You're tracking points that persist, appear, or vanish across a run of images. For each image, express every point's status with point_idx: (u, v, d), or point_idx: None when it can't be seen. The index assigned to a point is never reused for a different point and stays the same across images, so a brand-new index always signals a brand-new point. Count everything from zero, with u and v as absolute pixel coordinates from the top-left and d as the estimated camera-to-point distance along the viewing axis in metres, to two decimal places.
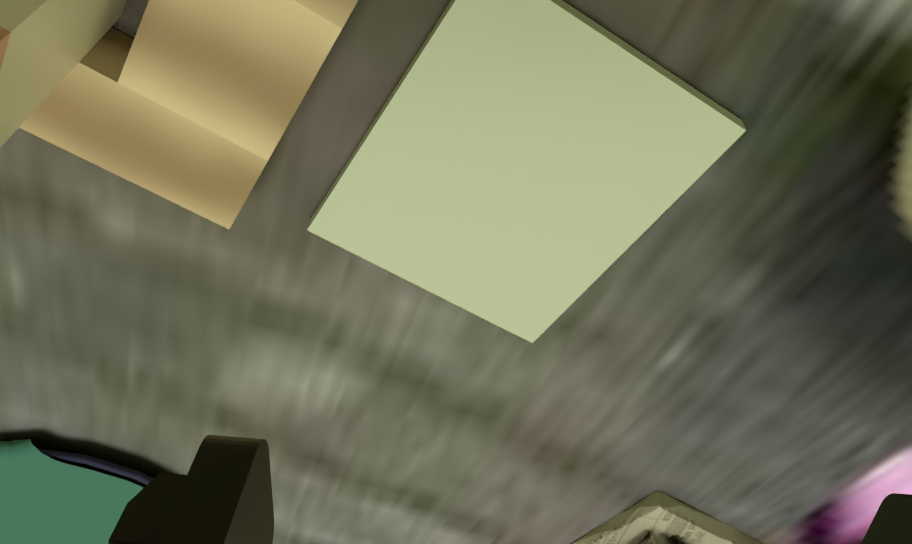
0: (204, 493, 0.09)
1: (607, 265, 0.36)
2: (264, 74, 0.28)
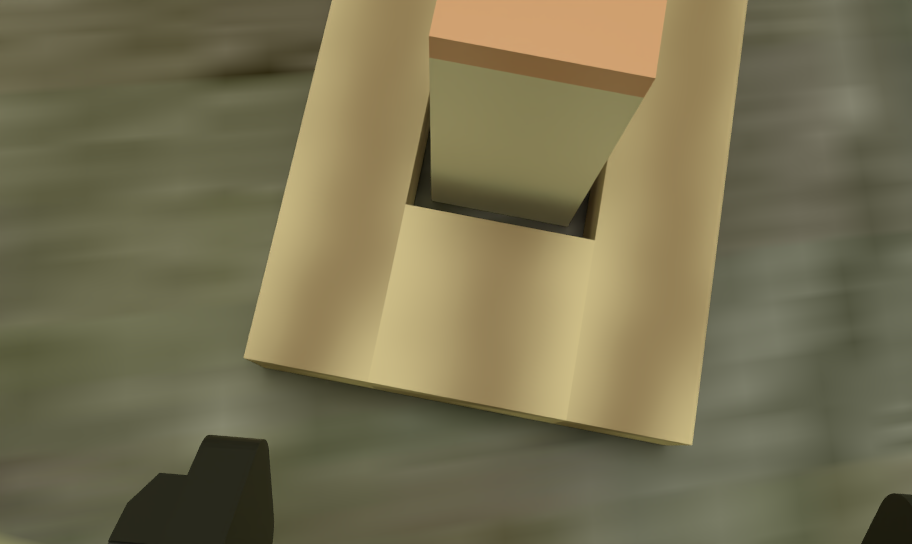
0: (204, 493, 0.09)
1: None
2: None
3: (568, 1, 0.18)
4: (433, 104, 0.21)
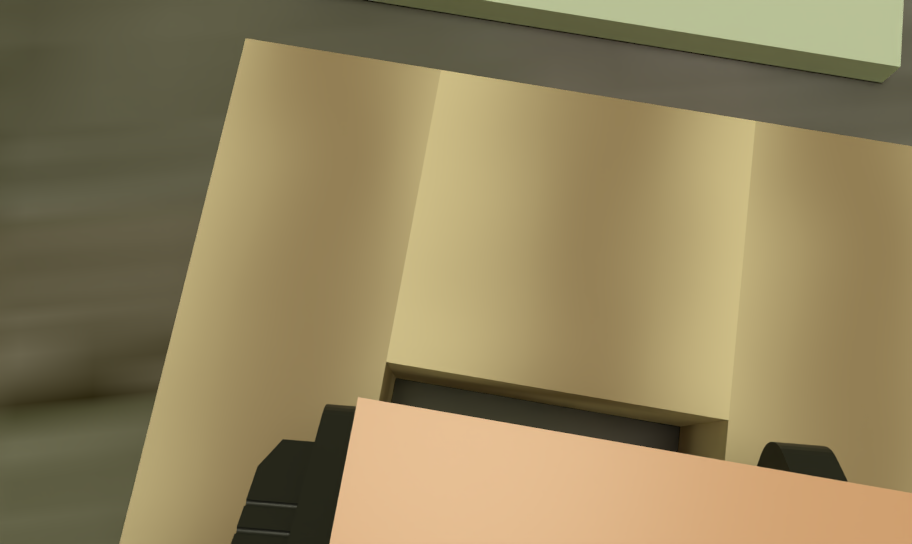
0: (333, 455, 0.10)
1: None
2: (582, 166, 0.15)
3: None
4: None
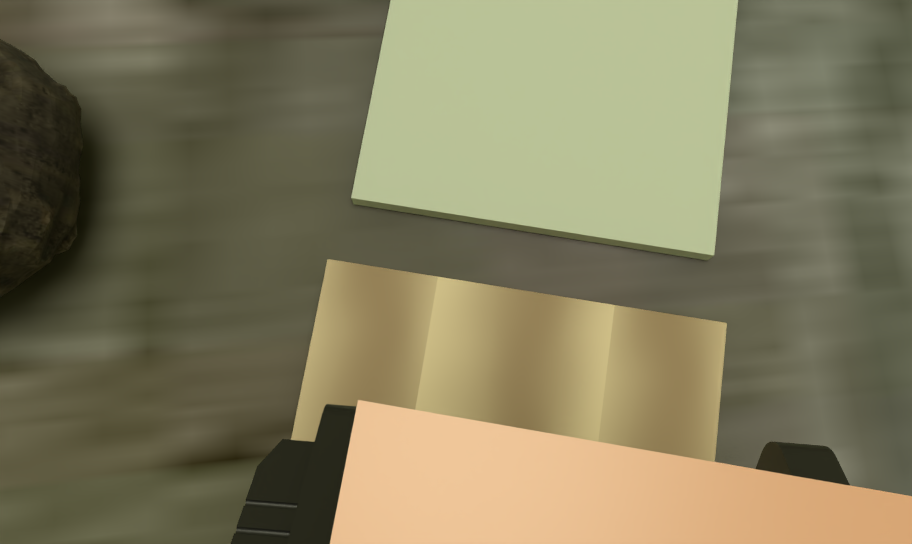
0: (333, 455, 0.10)
1: None
2: (516, 333, 0.28)
3: None
4: None
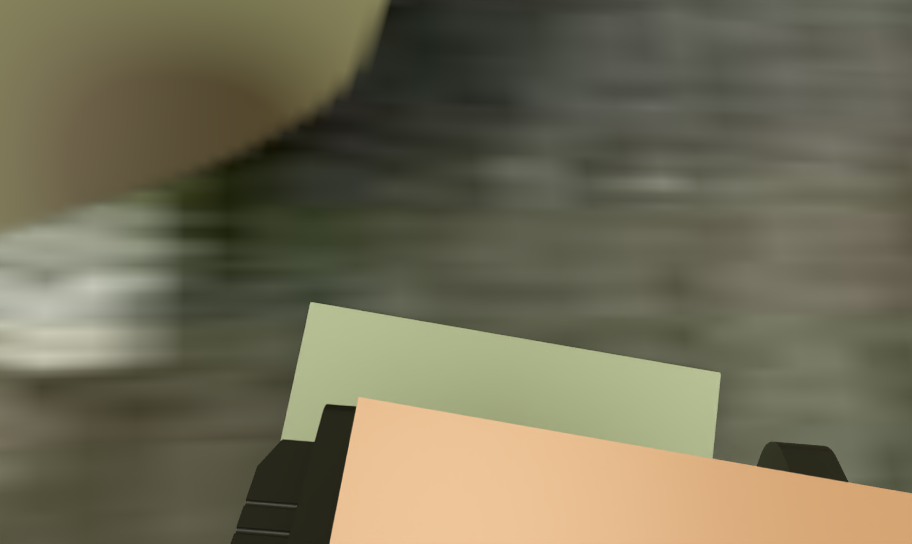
0: (333, 455, 0.10)
1: (549, 346, 0.27)
2: None
3: None
4: None
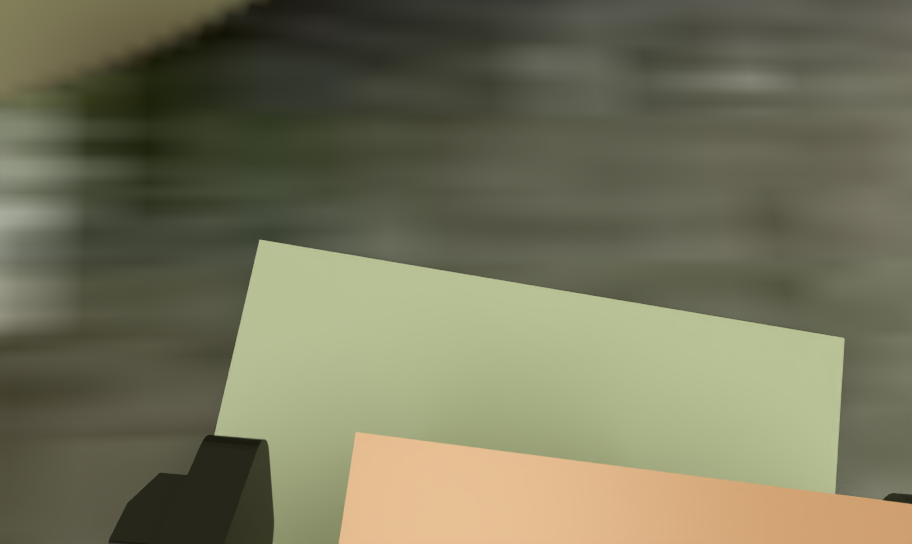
0: (204, 493, 0.09)
1: (599, 301, 0.19)
2: None
3: None
4: None
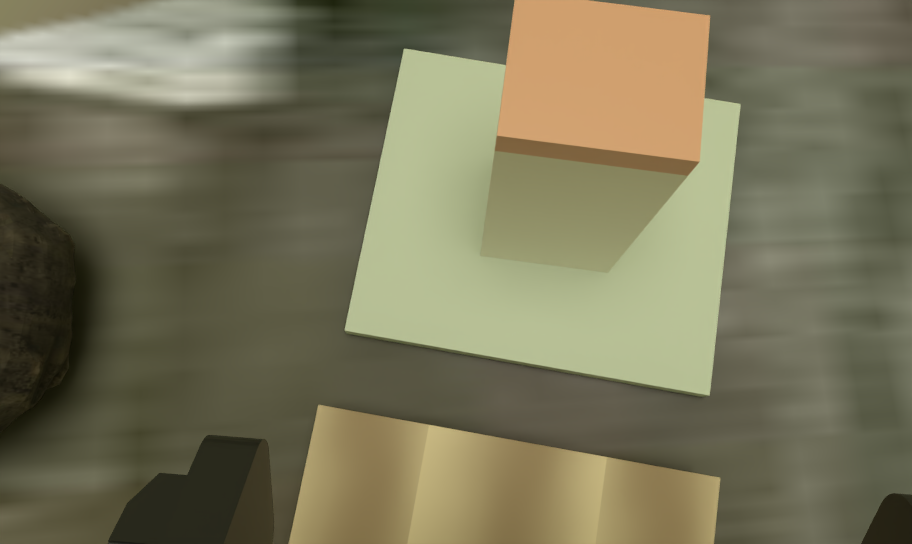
0: (204, 493, 0.09)
1: None
2: (507, 485, 0.28)
3: (617, 97, 0.20)
4: (493, 184, 0.23)
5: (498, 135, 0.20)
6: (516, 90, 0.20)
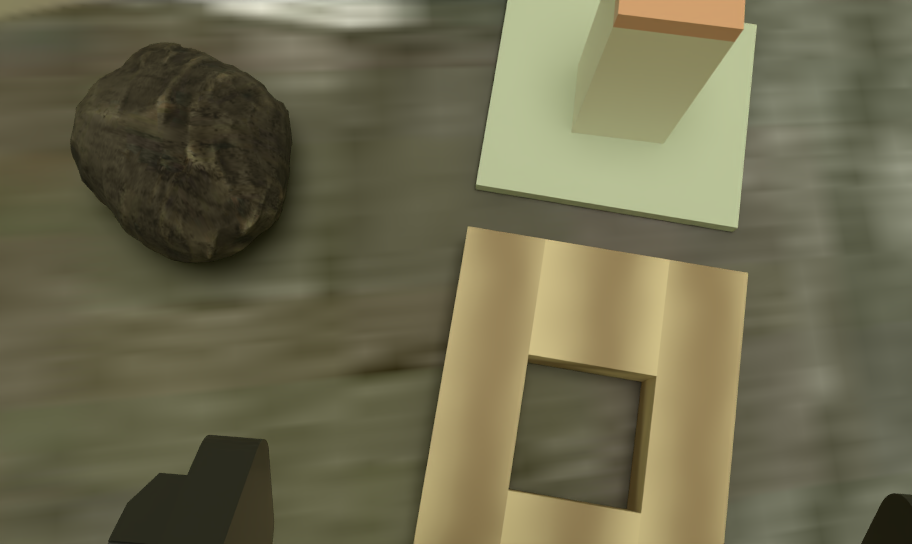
0: (204, 493, 0.09)
1: None
2: (601, 278, 0.40)
3: None
4: (603, 57, 0.36)
5: (618, 13, 0.32)
6: None
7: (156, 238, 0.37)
